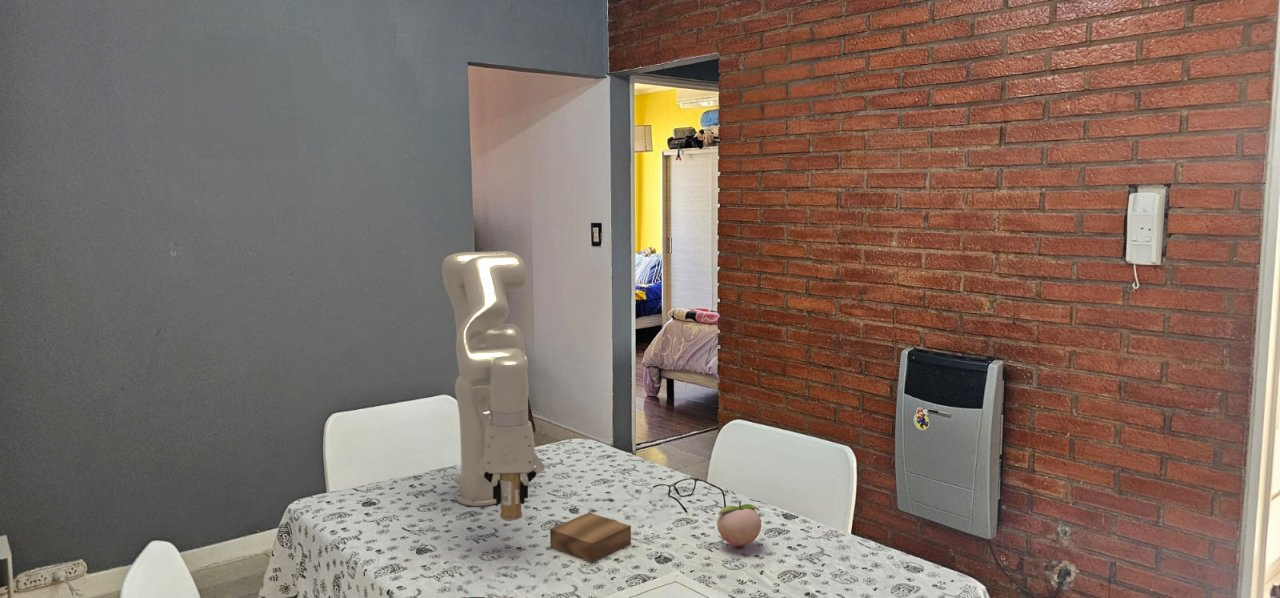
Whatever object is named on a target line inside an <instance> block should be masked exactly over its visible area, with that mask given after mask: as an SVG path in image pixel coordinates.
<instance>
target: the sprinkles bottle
mask: <svg viewBox="0 0 1280 598" xmlns="http://www.w3.org/2000/svg"><path fill="white" fill-rule="evenodd" d="M521 482H522V477H521V474H520V473H515V474H500V518H501V519H502V520H505V521H506V520H507V521H514V520H518V519H520V518H521V517H522V514H523V513H522V503H521Z"/></svg>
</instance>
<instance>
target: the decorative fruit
mask: <svg viewBox="0 0 1280 598" xmlns="http://www.w3.org/2000/svg"><path fill="white" fill-rule="evenodd" d="M756 510H757V511H760V509H759V507H758V506H756V505H754V504H750V503H746V504H745V503H744V504H742V502H741V501H738V505H737V506H736V505H735V506H734V505H727V506H726V507H723V508H722V509H721V510H720V511H719V512H718V513H717V515H718V518H717V521H716V526H717V530H718V533H719V534H720V536H721V538H722V539H723V541H725V542H726V543H728V544H729V545H731V546H734V547H736V548H739V547H740V546H741V547H742V546H746V545H749V544H751V543H752V542H754V541H755V540H756V539H757V538H758V537H759V534H760V532H761V528H762V520H761V517H760V515H759V514H758V512H757V511H756ZM741 547H740V548H741Z"/></svg>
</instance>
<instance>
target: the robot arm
mask: <svg viewBox="0 0 1280 598" xmlns="http://www.w3.org/2000/svg"><path fill="white" fill-rule="evenodd" d="M441 266H442V267H441V268H442V269H441V270H442V271H441V272H442V278H443V279H442V280H443V284H444V287H445V288H444V289H445V291H446V293H447V295H448V297H449V299H450V302H451V304H452V306H453V310H454V319H455V320H454V322H455V331H456V340H455V354H456V359H457V360H456V361H457V365H458V372H459V376H458V377H456V380H455V384H454V390H455V391H454V392H455V397H456V402H457V409H458V413H459V415H458V416H459V417H458V418H459V429H460V432H459V434H460V435H459V436H460V465H461V466H460V467H461V469H460V470H461V473H460V474H459V475H458V477H456V478H454V483H456V484H457V485H459V490H457V491H456V493H455V500H456V502H457V503H459V504H461V505H464V506H469V507H471V506H472V507H484V506H491V505H492V506H493V505H495V504H496V506H497V505H501V502H500V474H515V473H520V475H521V476H520V477H521V505H524V504H525V500H526V499H528V498H529V484H530V483H531V482H532V481H533V480H534V479H535V478H536V477H537V476H538V475H540V474H541V473H543V472H545V469H546V467H545V464H544V463H543V461H542V460H541V459H540V457H539V455H537V453H536V449H535V436H534V429H533V425H532V422H531V421H530V420H529V394H530V393H529V392H530V389H529V387H530V386H529V376H528V375H529V374H528V369H529V365H528V364H529V362H528V358H527V355H526V347H525V339H524V335H523V333H522V330H521V329H520V328H519V327H518V326H517V325H515V324H512V323H504V322H505V320H506V319H507V318H508V316H509V314H510V310H509V309H510V307H509V304H508V300H507V295H506V292H520V291H522V290H524V289H525V287H526V285H527V282H528V271H527V266H526V263H525V261H524V260H523V258H522V257H521V256H520V255H518V254H517V253H514V252H512V251H505V250H504V251H502V250H501V251H468V252H467V251H465V252H463V251H462V252H457V253H452V254H448V256H446V257H445V258H444V259H443V262H442V265H441Z"/></svg>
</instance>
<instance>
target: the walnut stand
mask: <svg viewBox="0 0 1280 598" xmlns="http://www.w3.org/2000/svg"><path fill="white" fill-rule="evenodd" d="M549 540H550V543H549V544H550V548H551V549H554V550H557V551H559V552H562V553H565V554H567V555H571V556H573V557H576V558H578V559H581V560H583V561H586V562H589V563H590V564H591V563H592V564H593V563H595V562H598V561H599V560H601V559H603V558H605V557H608V556H610V555H611V554H613V553H615V552H617V551H619V550H622V549H623V548H625V547H628V546H630V545H631V544H632V526H631V525H629V524H626V523H623V522H621V521H620V522H619V521H617V520H614V519H611V518H608V517H605V516H601V515H599V514H596V513H593V512H587V513H584V514H582V515H580V516H578V517H576V518H572V519H571V520H568V521H566V522H563V523H561V524H559V525H556V526H554V527H551V528H549Z"/></svg>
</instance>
